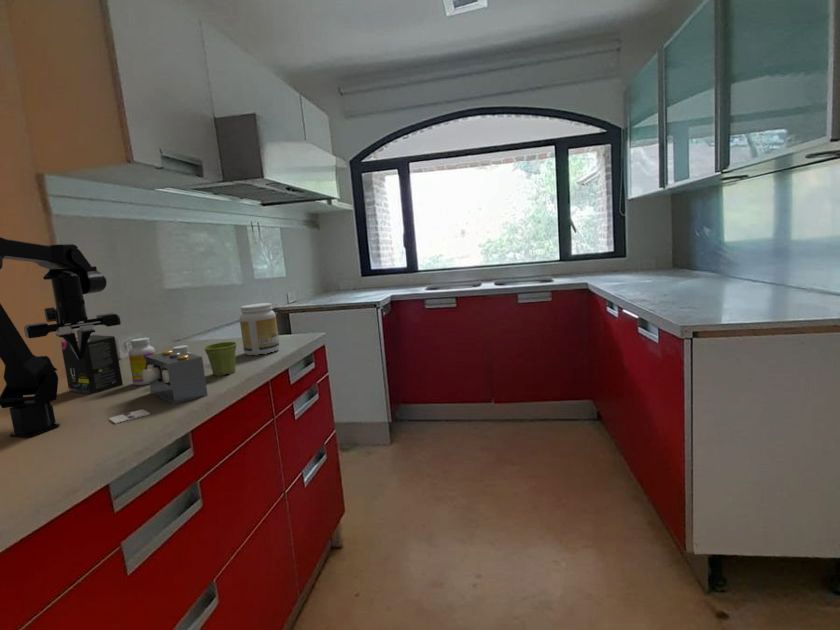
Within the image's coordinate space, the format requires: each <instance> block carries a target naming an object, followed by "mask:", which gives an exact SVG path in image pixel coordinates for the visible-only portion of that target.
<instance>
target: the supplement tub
mask: <svg viewBox="0 0 840 630" xmlns="http://www.w3.org/2000/svg"><path fill="white" fill-rule="evenodd" d="M272 309H273V305H272V302H262V303H252V304H245V305H242V306H240V312H241V314H240V316H239V323H240V325H239V326H240V330H241V340H242V346H243V352H244V354H245V355H247V356H251V355H255V356H258V355H257V354H265V353H269V352H273V351H276V350H277V351H279V349H280V346H281V345H280V338H279V332H278V323H277V315H276V312H275V311H273V310H272ZM277 351H276V352H277ZM273 353H274V352H273ZM265 355H266V354H265Z"/></svg>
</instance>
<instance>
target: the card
mask: <svg viewBox="0 0 840 630" xmlns="http://www.w3.org/2000/svg"><path fill="white" fill-rule="evenodd" d="M149 415H151V413H150V412H148V411H147V410H146V409H138V410H135V411H130V412H127V413H123V414H120V415H115V416H113V417H109V418H108V420H109V421H110V422H111V423H113V424H114V423H115V425H116V424H120V422H121V423H124V421H125V422H128V421H130V420H135V419H139V418H141V417H142V416H143V417H146V416H149ZM138 417H139V418H138ZM143 417H142V418H143ZM127 420H128V421H127Z"/></svg>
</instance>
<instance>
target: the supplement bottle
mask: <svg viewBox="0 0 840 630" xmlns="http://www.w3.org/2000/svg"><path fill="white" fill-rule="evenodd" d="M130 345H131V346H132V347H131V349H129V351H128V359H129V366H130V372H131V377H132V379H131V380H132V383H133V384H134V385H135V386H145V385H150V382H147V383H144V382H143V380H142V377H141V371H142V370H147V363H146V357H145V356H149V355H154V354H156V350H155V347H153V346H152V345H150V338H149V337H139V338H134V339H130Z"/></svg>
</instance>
